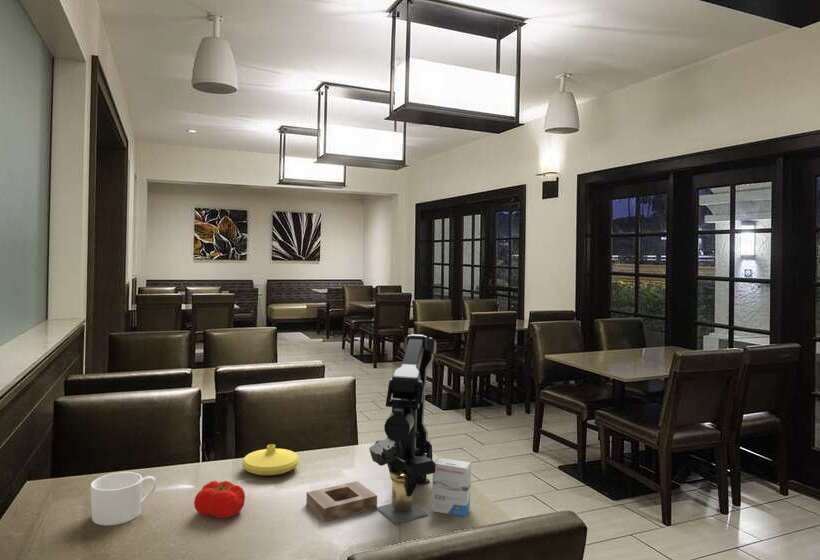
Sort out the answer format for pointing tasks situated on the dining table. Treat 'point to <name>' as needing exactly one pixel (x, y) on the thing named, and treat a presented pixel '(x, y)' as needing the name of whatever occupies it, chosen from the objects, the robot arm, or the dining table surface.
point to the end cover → (400, 492)
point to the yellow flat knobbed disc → (270, 461)
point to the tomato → (220, 499)
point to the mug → (118, 497)
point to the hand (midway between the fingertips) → (402, 491)
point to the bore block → (355, 502)
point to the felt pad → (401, 513)
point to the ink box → (451, 487)
